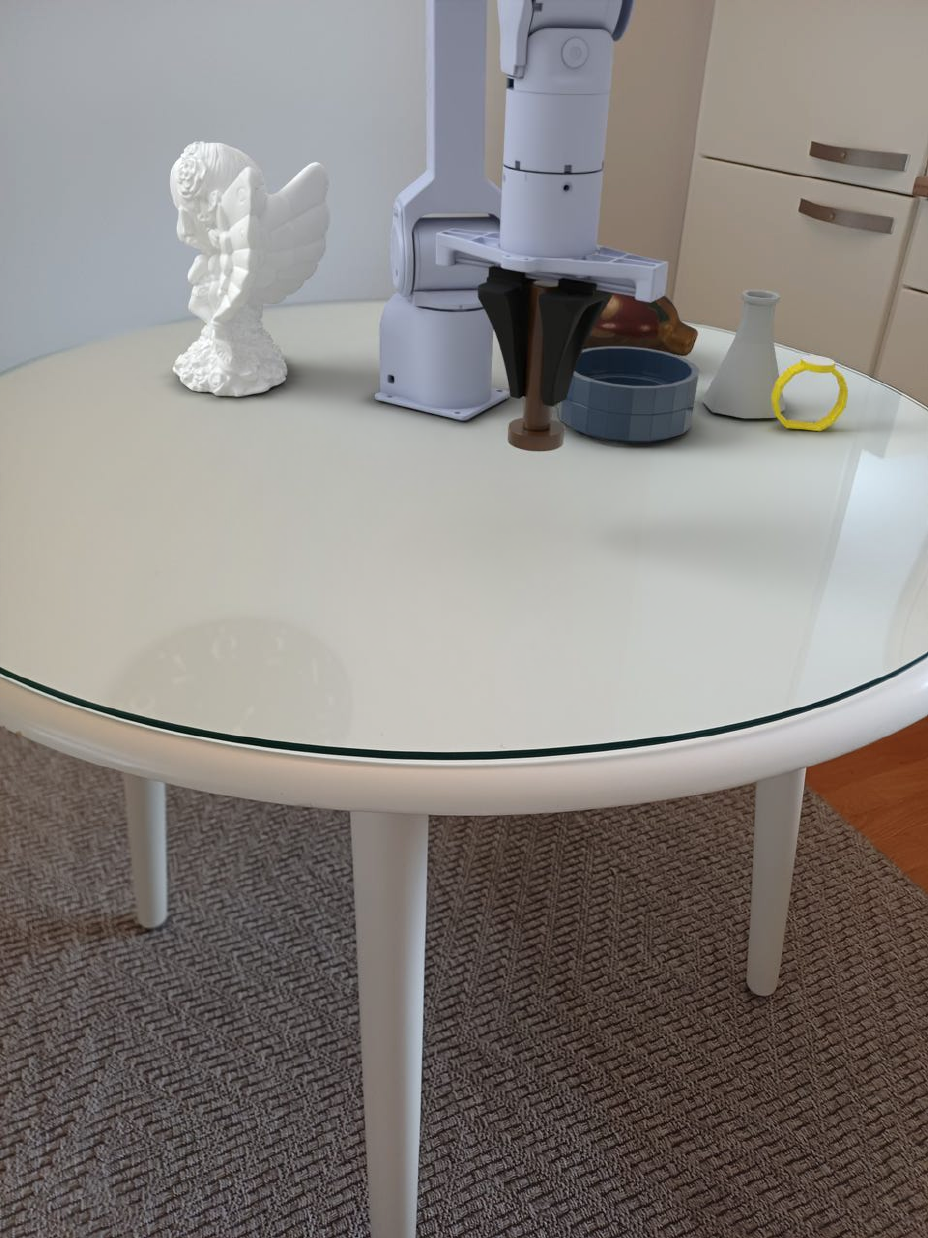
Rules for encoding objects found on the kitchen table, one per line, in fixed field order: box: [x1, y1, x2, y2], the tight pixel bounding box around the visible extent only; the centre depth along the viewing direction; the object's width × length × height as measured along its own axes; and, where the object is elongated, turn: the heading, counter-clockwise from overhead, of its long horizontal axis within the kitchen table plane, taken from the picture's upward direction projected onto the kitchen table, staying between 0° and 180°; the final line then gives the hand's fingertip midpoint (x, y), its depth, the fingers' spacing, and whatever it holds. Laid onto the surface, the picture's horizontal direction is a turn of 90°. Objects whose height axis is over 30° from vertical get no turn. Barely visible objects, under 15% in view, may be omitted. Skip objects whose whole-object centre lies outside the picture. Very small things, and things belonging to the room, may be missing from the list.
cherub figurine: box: [169, 140, 331, 398], centre depth 96 cm, size 13×12×20 cm
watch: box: [771, 354, 849, 432], centre depth 91 cm, size 6×3×6 cm, turn 89°
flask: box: [701, 289, 786, 419], centre depth 94 cm, size 7×7×10 cm
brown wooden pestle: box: [507, 280, 566, 453], centre depth 67 cm, size 4×4×10 cm
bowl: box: [557, 346, 700, 444], centre depth 91 cm, size 11×11×5 cm
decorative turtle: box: [583, 293, 699, 357], centre depth 106 cm, size 10×15×8 cm, turn 70°
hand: (538, 397), depth 69 cm, fingers closed on brown wooden pestle, 2 cm apart
